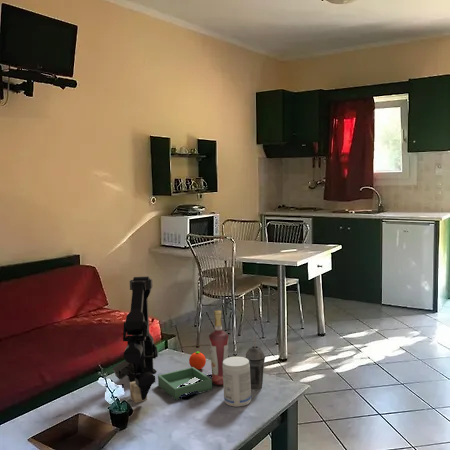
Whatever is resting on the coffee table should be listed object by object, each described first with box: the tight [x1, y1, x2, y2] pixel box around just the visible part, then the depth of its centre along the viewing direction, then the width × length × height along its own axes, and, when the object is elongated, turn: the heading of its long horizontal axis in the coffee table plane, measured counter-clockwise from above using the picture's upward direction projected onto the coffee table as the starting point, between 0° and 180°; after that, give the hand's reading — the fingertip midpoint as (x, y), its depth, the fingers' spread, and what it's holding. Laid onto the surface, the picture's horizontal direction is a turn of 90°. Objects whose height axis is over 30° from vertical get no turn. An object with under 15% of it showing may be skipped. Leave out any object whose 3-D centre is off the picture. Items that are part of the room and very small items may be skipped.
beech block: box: [129, 381, 148, 404], centre depth 184 cm, size 4×4×6 cm
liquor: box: [208, 310, 229, 386], centre depth 195 cm, size 7×7×28 cm
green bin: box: [157, 366, 213, 401], centre depth 193 cm, size 15×15×4 cm
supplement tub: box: [222, 356, 252, 408], centre depth 179 cm, size 10×10×15 cm
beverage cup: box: [244, 335, 266, 391], centre depth 190 cm, size 7×7×20 cm
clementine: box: [188, 351, 207, 371], centre depth 211 cm, size 8×7×7 cm
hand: (138, 395), depth 185 cm, fingers open, 9 cm apart
